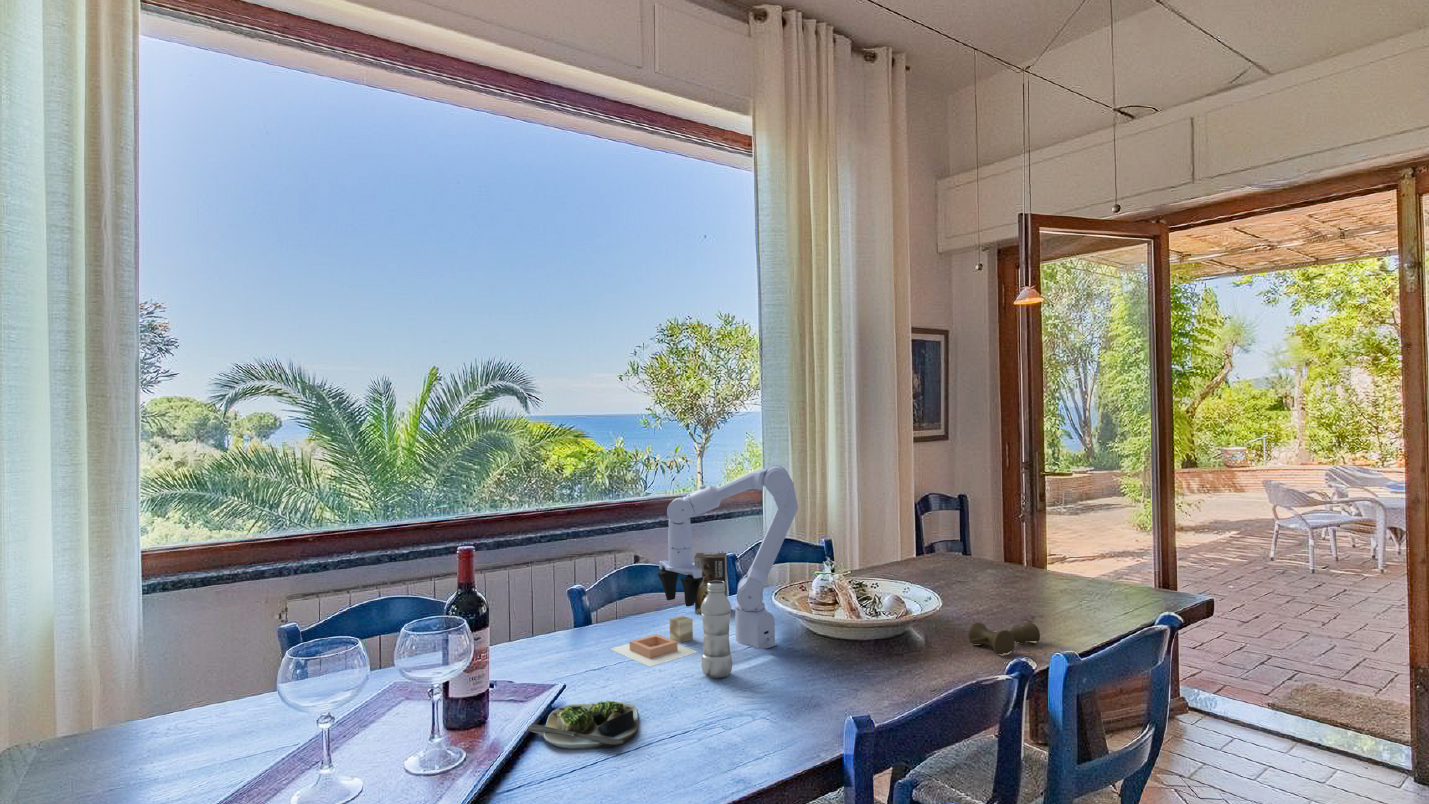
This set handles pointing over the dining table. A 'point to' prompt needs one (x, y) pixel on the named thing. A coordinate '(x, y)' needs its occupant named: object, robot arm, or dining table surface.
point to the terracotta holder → (663, 646)
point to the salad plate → (590, 725)
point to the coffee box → (710, 573)
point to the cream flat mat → (656, 660)
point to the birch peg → (681, 629)
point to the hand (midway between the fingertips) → (680, 602)
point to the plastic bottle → (716, 631)
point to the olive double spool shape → (1003, 636)
